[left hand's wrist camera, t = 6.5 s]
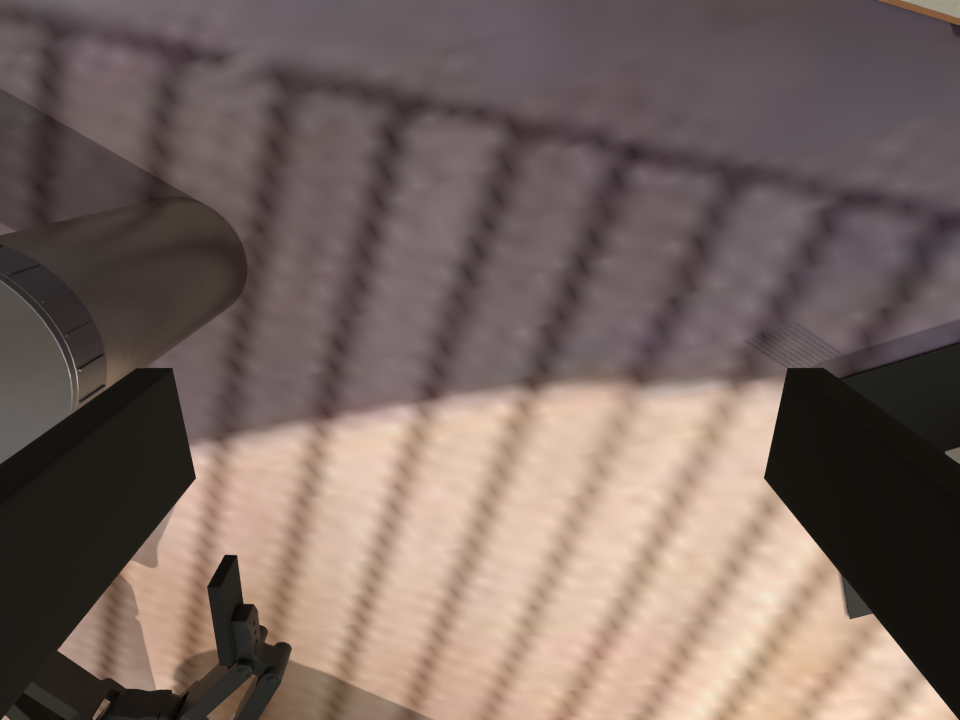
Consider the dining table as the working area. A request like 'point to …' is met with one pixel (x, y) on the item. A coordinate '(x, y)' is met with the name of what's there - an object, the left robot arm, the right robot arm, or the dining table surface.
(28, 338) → the lid
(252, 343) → the dining table surface
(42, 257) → the jar
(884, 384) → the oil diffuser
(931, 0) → the organizer
